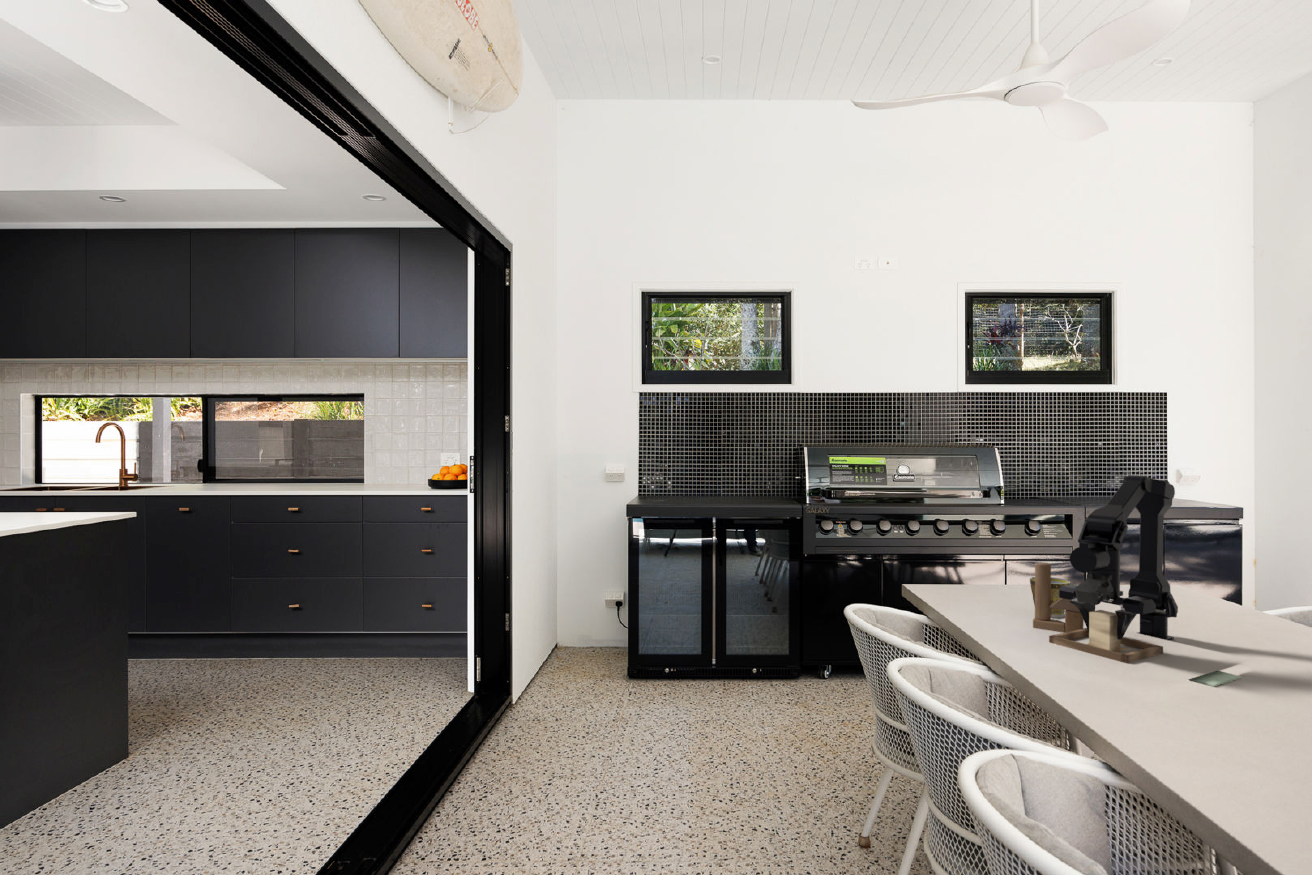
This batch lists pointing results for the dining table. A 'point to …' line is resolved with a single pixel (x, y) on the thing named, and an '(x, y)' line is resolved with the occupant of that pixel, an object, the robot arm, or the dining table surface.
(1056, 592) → the yellow green glass cup
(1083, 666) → the dining table surface
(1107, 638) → the beech block
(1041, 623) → the wooden block structure
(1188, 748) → the dining table surface
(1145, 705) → the dining table surface
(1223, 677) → the green mat
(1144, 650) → the wooden rectangular frame
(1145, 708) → the dining table surface
